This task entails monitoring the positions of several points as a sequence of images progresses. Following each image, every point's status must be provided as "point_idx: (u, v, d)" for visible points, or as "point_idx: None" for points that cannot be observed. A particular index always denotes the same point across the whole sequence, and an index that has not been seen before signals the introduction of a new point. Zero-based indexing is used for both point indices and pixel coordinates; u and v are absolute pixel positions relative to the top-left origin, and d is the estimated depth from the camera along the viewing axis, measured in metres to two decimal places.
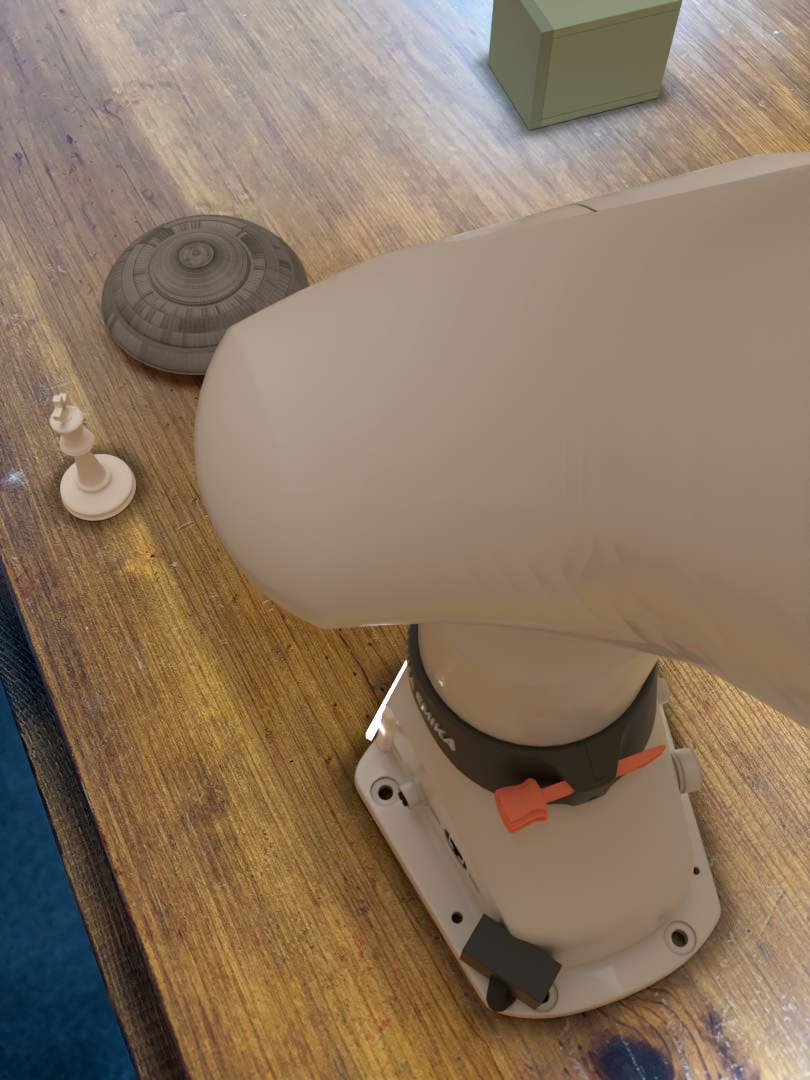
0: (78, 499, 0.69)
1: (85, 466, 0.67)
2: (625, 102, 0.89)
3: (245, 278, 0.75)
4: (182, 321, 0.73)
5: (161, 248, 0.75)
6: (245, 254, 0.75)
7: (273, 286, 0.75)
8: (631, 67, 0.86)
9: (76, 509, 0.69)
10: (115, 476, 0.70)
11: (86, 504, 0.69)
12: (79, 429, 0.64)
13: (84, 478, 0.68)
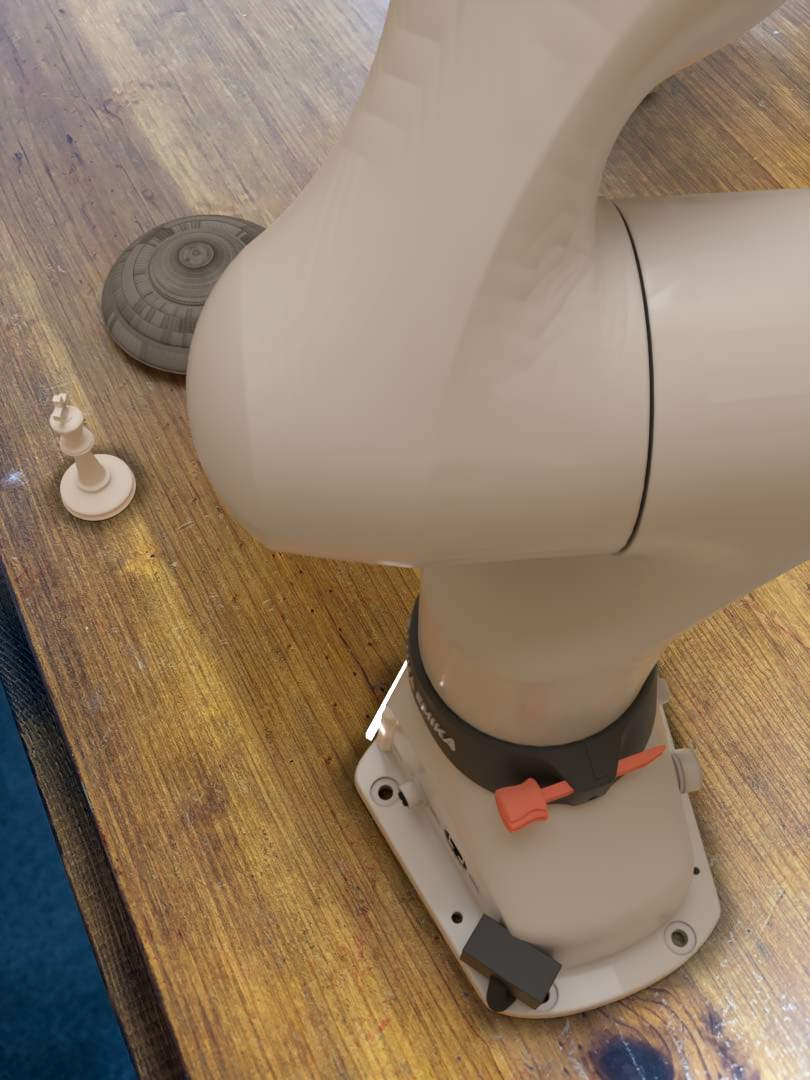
0: (78, 499, 0.69)
1: (85, 466, 0.67)
2: None
3: None
4: (182, 321, 0.73)
5: (161, 248, 0.75)
6: None
7: None
8: None
9: (76, 509, 0.69)
10: (115, 476, 0.70)
11: (86, 504, 0.69)
12: (79, 429, 0.64)
13: (84, 478, 0.68)
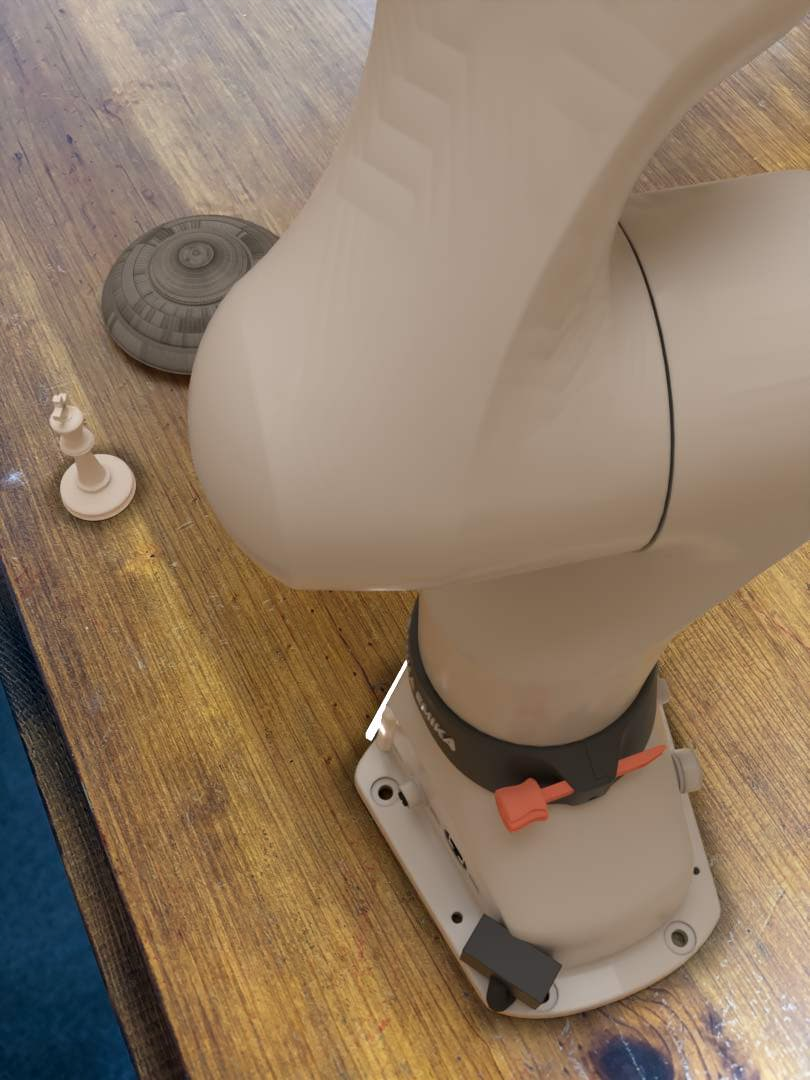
0: (78, 499, 0.69)
1: (85, 466, 0.67)
2: None
3: None
4: (182, 321, 0.73)
5: (161, 248, 0.75)
6: (245, 254, 0.75)
7: None
8: None
9: (76, 509, 0.69)
10: (115, 476, 0.70)
11: (86, 504, 0.69)
12: (79, 429, 0.64)
13: (84, 478, 0.68)
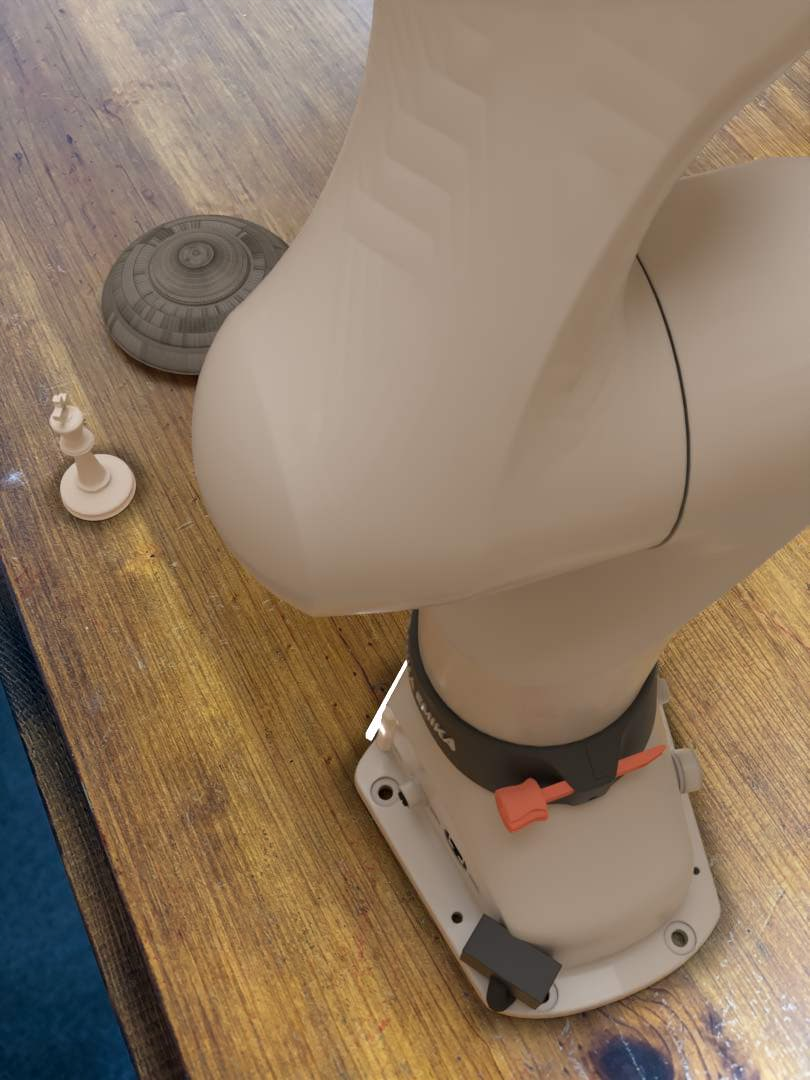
0: (78, 499, 0.69)
1: (85, 466, 0.67)
2: None
3: (245, 278, 0.75)
4: (182, 320, 0.73)
5: (161, 248, 0.75)
6: (245, 254, 0.75)
7: None
8: None
9: (76, 509, 0.69)
10: (115, 476, 0.70)
11: (86, 504, 0.69)
12: (79, 429, 0.64)
13: (84, 478, 0.68)
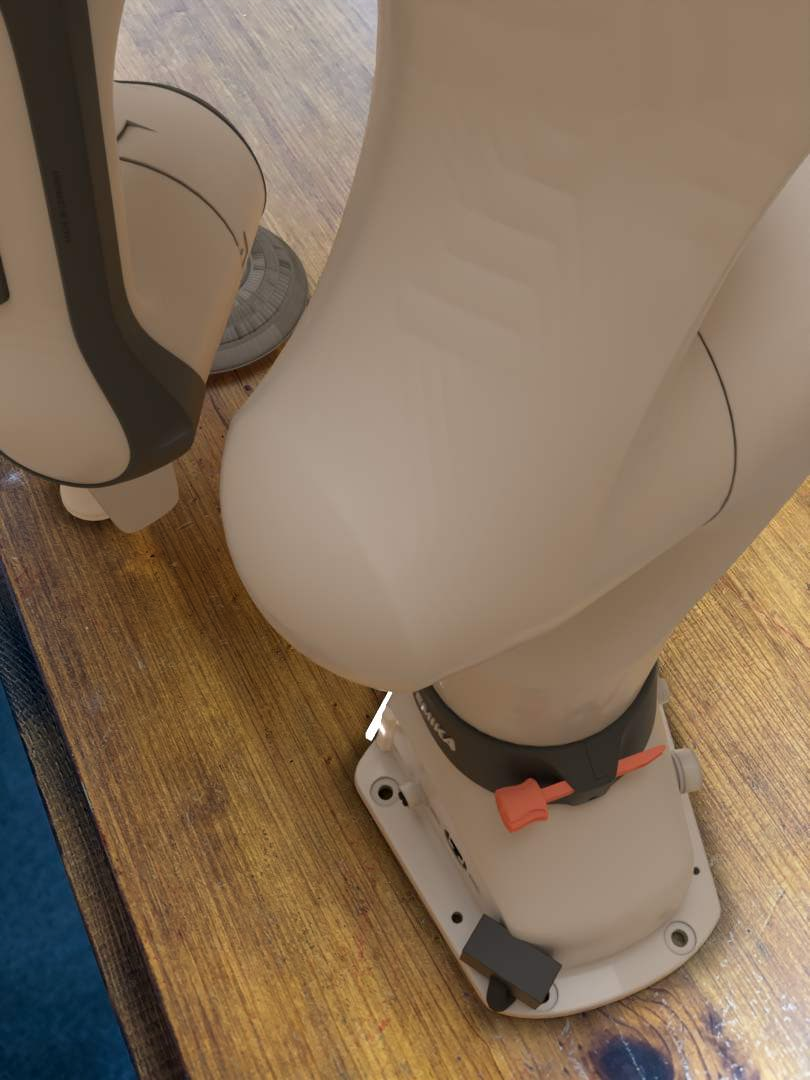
0: (78, 499, 0.69)
1: None
2: None
3: (245, 278, 0.75)
4: None
5: None
6: None
7: (273, 286, 0.75)
8: None
9: (76, 509, 0.69)
10: None
11: (86, 504, 0.69)
12: None
13: None
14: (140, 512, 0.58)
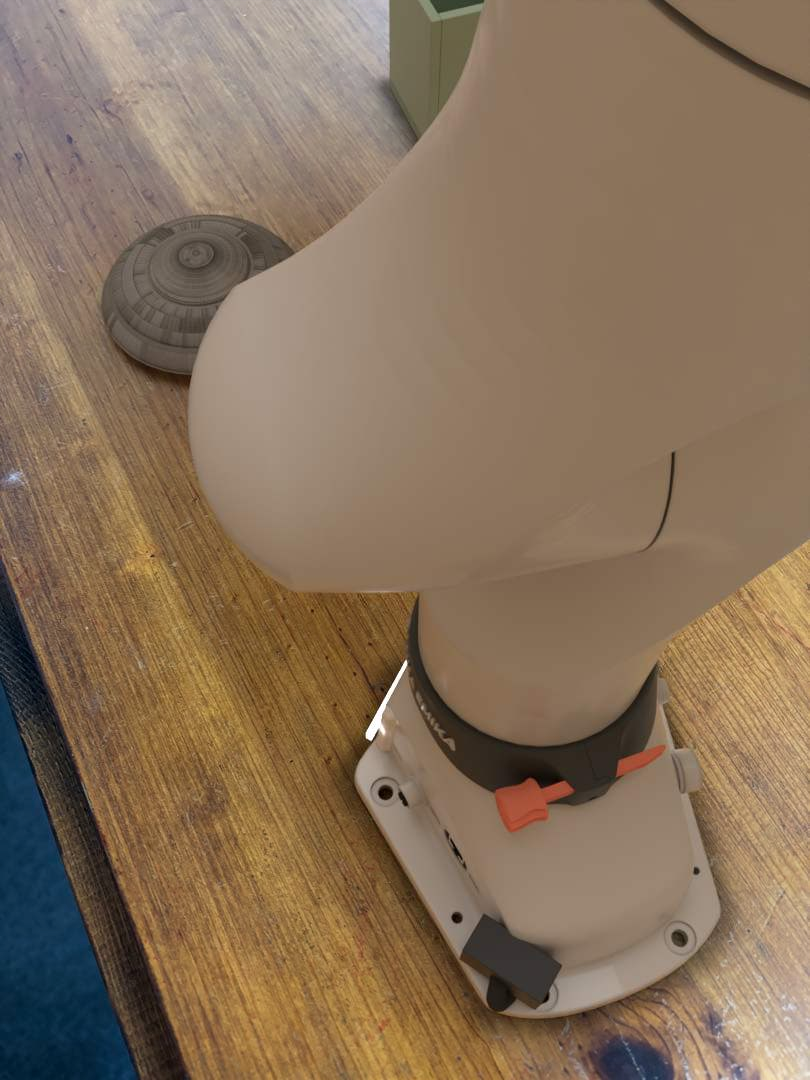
0: None
1: None
2: None
3: (245, 278, 0.75)
4: (182, 321, 0.73)
5: (161, 248, 0.75)
6: (245, 254, 0.75)
7: None
8: None
9: None
10: None
11: None
12: None
13: None
14: None
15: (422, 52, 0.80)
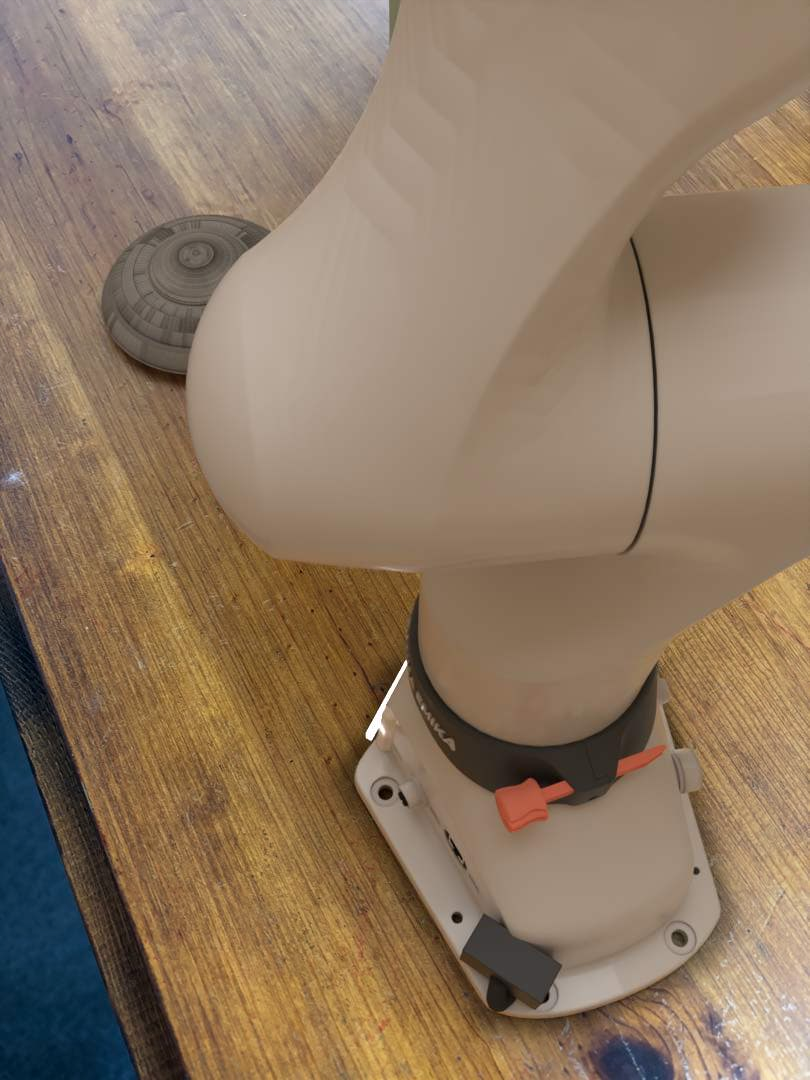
0: None
1: None
2: None
3: None
4: (182, 320, 0.73)
5: (161, 248, 0.75)
6: None
7: None
8: None
9: None
10: None
11: None
12: None
13: None
14: None
15: None
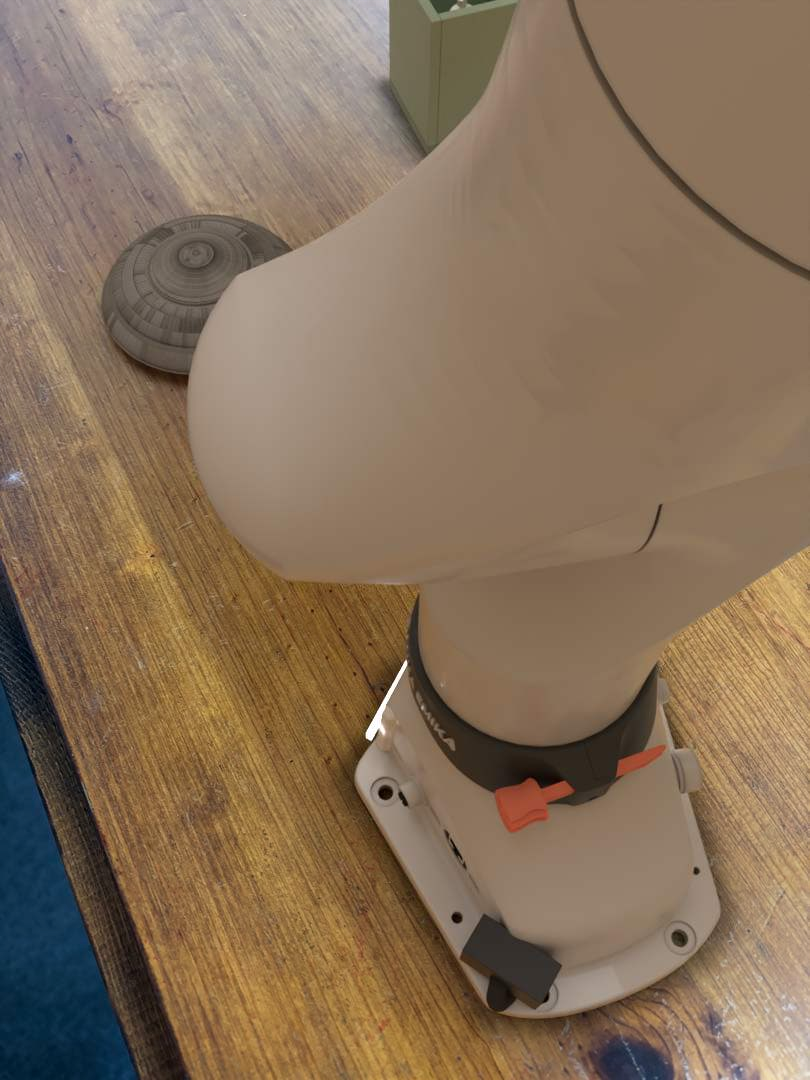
0: None
1: None
2: None
3: None
4: (182, 321, 0.73)
5: (161, 248, 0.75)
6: (245, 254, 0.75)
7: None
8: (494, 47, 0.80)
9: None
10: None
11: None
12: None
13: None
14: None
15: (422, 52, 0.80)
